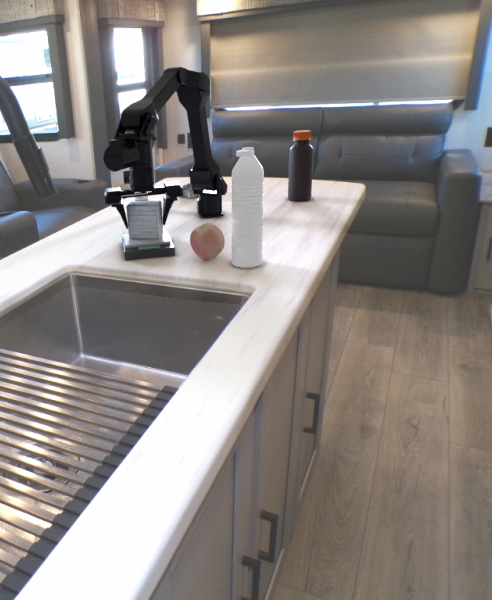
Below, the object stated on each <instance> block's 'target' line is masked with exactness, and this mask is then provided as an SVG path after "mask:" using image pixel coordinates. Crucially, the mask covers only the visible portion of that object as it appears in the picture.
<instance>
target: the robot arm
mask: <svg viewBox="0 0 492 600" xmlns="http://www.w3.org/2000/svg"><path fill="white" fill-rule="evenodd" d="M210 89H211V80H210V77H209V75H208V74H206V72H203V71H196V70H192V69H188V68H186V67H183V66H174V67H167V68H166V69H164V70H163V72H162V75H161V77H160V78H158V80H157V81H156V82H155V83H154V85H153V86H152V87H151V88H150V89H149V90H148V91H147V92H146V94H145V95H144V96H143V97H142V98H141V99H140V100H137V101H135V102H133V103H131V104H130V105H128V106H127V107H125V108H124V109H123V110H122V112H121V115H120V118H119V122H118V125H117V127H116V130H115V134H114V137H113V139H110V140H109V141H108V145H109V146H108V147H106V148H105V150H104V153H103V157H102V158H103V163H104V166H105V167H106V168H107V169H108V170H109V171H110V172H114V173H116V172H119V171H122V170H123V171H122V178H123V179H122V181H123V185H125V186H126V185H129V188H130V189H124V190H121V187H120V186H115V187H106V188H105V189H104V191H103V192H104V193H103V194H104V202H105V205H110V207H111V208H115V209H116V210H117V212H118V214H119V215H120V217H121V219H122V222H123V225H124V226H125V230H128V219H127V213H126V210H125V205H124V200H123V199H129V198H131V199H132V198H134V197H141V196H148V197H149V196H150V197H151V196H158V195H162V220H163V226H166V224H167V220H168V217H169V214H170V211H171V208H172V206H173V204H174V202H176V201H177V202H178V201H179V199H178V198H183V197H182V196H183V186H184V185H182V184H181V182H180V181H178V180H174V181H165V182H163V185H161V186H155V171H154V158H153V157H154V156H153V142H154V141H157V140H158V139H157V137H156V136H155V134H153V133H152V132H153V130H154V129H155V127H156V125H157V124H158V122H159V119H160V118H159V113H160V111H161V110H162V109H163V108H164V107H165V105H166V104H167V103H168V102H169V100H171V98H172V97H173V95H174V94H175V93H176V96H177V99H178V102H179V103H180V105H181V106H182V107H183V108H184V109H185V110H186V117H187V122H188V123H187V124H188V128H189V136H190V142H191V149H192V155H193V161H194V162H193V165H192V167H191V169H189V171H188V176H189V184H191V186H192V190H193V194H194V195H196V194H198V195H199V196H198V198H196V213H197V214H198V215H199V217H200V218H201V219H207V218H215V217H223V216H224V213H223V196H225V195H227V192H228V184H227V182H226V180H225V179H224V177H223V176H222V172H221V168H220V165H219V164H218V163H217V162H216V161H215V159H214V158H213V153H212V146H211V138H210V133H209V132H210V131H209V125H208V124H209V123H208V117H207V109H206V106H207V102H208V100H209V98H210V94H211V90H210ZM126 169H129V170H126ZM135 192H139V193H135ZM140 192H141V193H140Z"/></svg>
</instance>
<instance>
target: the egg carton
mask: <svg viewBox="0 0 492 600" xmlns="http://www.w3.org/2000/svg"><path fill="white" fill-rule="evenodd" d="M182 186H183V196H182V197H181V198H184V197H186V198H188V199H193V198H198V197H199V195H198V194H196V195H194V194H193V190H192V186H191V184H190V182H188V183H187V184H186V183H185V184H184V185H182Z"/></svg>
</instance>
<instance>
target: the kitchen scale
mask: <svg viewBox="0 0 492 600" xmlns="http://www.w3.org/2000/svg"><path fill="white" fill-rule="evenodd" d="M121 244H122V251H123V257H124V261H133V260H141V259H142V260H143V259H155V258H162V257H173V256H176V248H175V245H174V243H173V240H172V237H171V236H170V234H169V232H168V230H166V228H165V229H164V228H163V235H162V236H161V237H160V239H129V232H124V233H123V235H121Z"/></svg>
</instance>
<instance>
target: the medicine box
mask: <svg viewBox="0 0 492 600" xmlns="http://www.w3.org/2000/svg"><path fill="white" fill-rule="evenodd" d="M125 208H126V218H127V223H128V229H127V230H128V233H129V239H160V237H161V236H162V235H163V229H164V225H163V205H162V201H161V200H148V201H135V200H132V201H130V202H129V203H128V204H126V206H125Z"/></svg>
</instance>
